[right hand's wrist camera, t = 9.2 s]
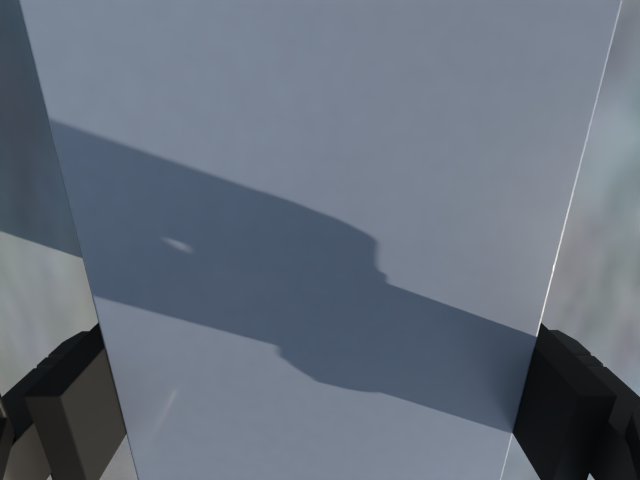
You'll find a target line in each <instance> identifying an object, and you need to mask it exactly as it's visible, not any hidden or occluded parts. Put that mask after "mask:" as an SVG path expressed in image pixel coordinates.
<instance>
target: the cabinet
mask: <svg viewBox="0 0 640 480" xmlns="http://www.w3.org/2000/svg"><path fill="white" fill-rule="evenodd" d="M18 1H19V5H20V9H21V13H22V17H23V21H24V25H25V29H26V33H27V37H28V41H29V45H30V49H31V53H32V57H33V61H34V65H35V69H36V73H37V77H38V81H39V85H40V89H41V93H42V97H43V101H44V105H45V109H46V113H47V117H48V121H49V125H50V129H51V133H52V137H53V141H54V145H55V149H56V153H57V157H58V161H59V165H60V169H61V173H62V177H63V181H64V185H65V189H66V193H67V197H68V201H69V205H70V209H71V213H72V217H73V221H74V225H75V229H76V233H77V237H78V241H79V245H80V249H81V253H82V257H83V261H84V265H85V269H86V273H87V277H88V281H89V285H90V289H91V293H92V297H93V301H94V305H95V309H96V313H97V318H98V322H99V326H100V330H101V334H102V338H103V342H104V346H105V350H106V354H107V358H108V362H109V366H110V370H111V374H112V378H113V382H114V386H115V390H116V394H117V398H118V402H119V406H120V410H121V414H122V418H123V422H124V426H125V430H126V434H127V438H128V442H129V446H130V450H131V454H132V458H133V462H134V466H135V470H136V474H137V478H138V480H501V477H502V474H503V470H504V466H505V462H506V458H507V454H508V450H509V446H510V442H511V438H512V434H513V430H514V426H515V422H516V418H517V414H518V410H519V406H520V403H521V399H522V395H523V391H524V387H525V383H526V379H527V375H528V371H529V367H530V363H531V359H532V355H533V351H534V347H535V343H536V339H537V335H538V331H539V328H540V324H541V320H542V316H543V312H544V308H545V304H546V300H547V296H548V292H549V288H550V284H551V280H552V276H553V272H554V268H555V264H556V260H557V257H558V253H559V249H560V245H561V241H562V237H563V233H564V229H565V225H566V221H567V217H568V213H569V209H570V205H571V201H572V197H573V193H574V189H575V186H576V182H577V178H578V174H579V170H580V166H581V162H582V158H583V154H584V150H585V146H586V142H587V138H588V134H589V130H590V126H591V122H592V118H593V115H594V111H595V107H596V103H597V99H598V95H599V91H600V87H601V83H602V79H603V75H604V71H605V67H606V63H607V59H608V55H609V51H610V47H611V44H612V40H613V36H614V32H615V28H616V24H617V20H618V16H619V12H620V8H621V4H622V0H18Z"/></svg>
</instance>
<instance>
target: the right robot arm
mask: <svg viewBox="0 0 640 480" xmlns="http://www.w3.org/2000/svg"><path fill="white" fill-rule="evenodd" d="M513 434H514V436H515V438H516V439H517V441H518V443H519V444H520V446H521V448H522V449H523V451H524V453H525V454H526V456H527V458H528V459H529V461H530V463H531V465H532V466H533V468H534V470H535V471H536V473H537V475H538V476H539V478H540V480H587V478H588V475H589V473H590V474H591V475H592V477H593V478H594V479H595V480H640V397H639V396H638V395H637V394H636V393H635V392H634V391H632V390H631V389H630V388H629V387H628V386H627V385H626V384H625V383H624V382H622V381H621V380H620V379H619V378H618V377H617V376H616V375H615V374H613V373H612V372H611V371H610V370H609V369H608V368H607V367H604V366H603V364H602V363H601V362H600V361H599V360H598V359H597V358H596V357H595V356H591V353H590V352H589V351H588V350H587V349H586V348H584V347H583V346H582V345H581V344H580V343H579V342H578V341H576V340H575V339H573V338H571V337H569V336H568V335H566V334H564V333H562V332H560V331H559V330H548V329H547V328H546V327H545V326H544V325H543V324H542V323H541V324H540V328H539V331H538V335H537V339H536V343H535V347H534V351H533V355H532V359H531V363H530V367H529V371H528V375H527V379H526V383H525V387H524V391H523V395H522V399H521V403H520V406H519V410H518V414H517V418H516V422H515V426H514V430H513ZM125 435H126V430H125V426H124V422H123V418H122V414H121V410H120V406H119V402H118V398H117V394H116V390H115V386H114V382H113V378H112V374H111V370H110V366H109V362H108V358H107V354H106V350H105V346H104V342H103V338H102V334H101V330H100V326H99V323H98V324H97V325H95V326H94V327H93V328H92V329H91V330H90V331H82V332H80V333H78V334H76V335H75V336H73V337H71V338H69V339H67V340H66V341H64V342H62V343H61V344H60V345H59V346H58V347H57V348H56V349H55V350H54V351H52V352H51V353H50V354H49V357H46V358H45V359H44V360H42V361H41V362H40V363H39V364H38V365H37V368H34V369H33V370H31V371H30V372H29V373H28V374H27V375H26V376H25V377H24V378H23V379H21V380H20V381H19V382H18V383H17V384H16V385H15V386H14V387H13V388H11V389H10V390H9V391H8V392H7V393H6V394H5V395H4V396H3V397H1V394H0V480H46V479H47V478H48V477H49V475H50V474H51V477H52V480H99V479H100V477H101V476H102V474H103V472H104V470H105V469H106V467H107V465H108V464H109V462H110V460H111V459H112V457H113V455H114V454H115V452H116V450H117V449H118V447H119V445H120V444H121V442H122V440H123V439H124V437H125Z"/></svg>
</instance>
